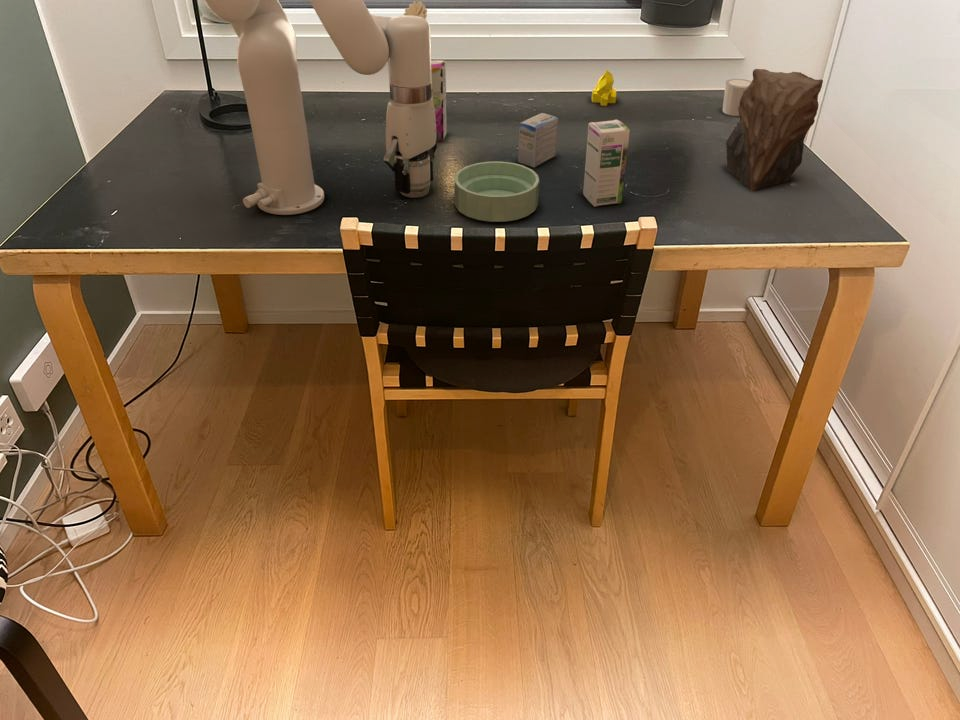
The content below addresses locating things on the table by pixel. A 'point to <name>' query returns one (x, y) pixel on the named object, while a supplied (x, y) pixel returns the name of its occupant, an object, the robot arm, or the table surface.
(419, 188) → the camera lens
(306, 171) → the robot arm
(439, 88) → the candy bar box
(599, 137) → the syrup box
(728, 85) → the white cylinder
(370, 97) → the table surface
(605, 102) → the yellow crystal cluster
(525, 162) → the medicine box
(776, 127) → the owl
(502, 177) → the bowl
